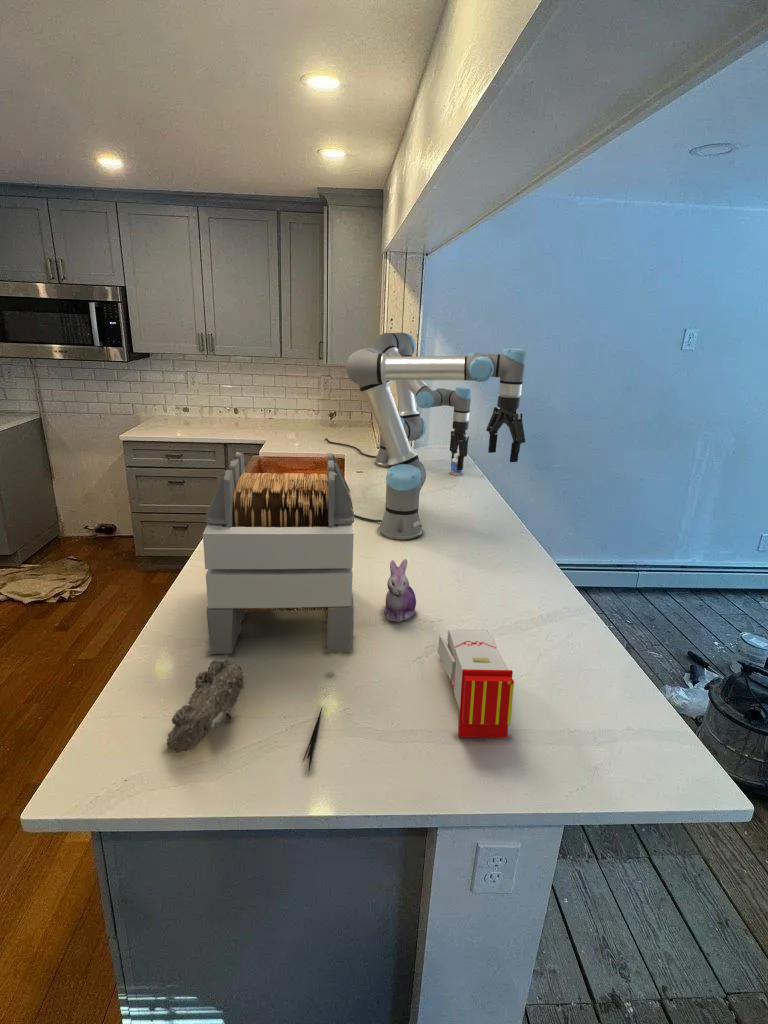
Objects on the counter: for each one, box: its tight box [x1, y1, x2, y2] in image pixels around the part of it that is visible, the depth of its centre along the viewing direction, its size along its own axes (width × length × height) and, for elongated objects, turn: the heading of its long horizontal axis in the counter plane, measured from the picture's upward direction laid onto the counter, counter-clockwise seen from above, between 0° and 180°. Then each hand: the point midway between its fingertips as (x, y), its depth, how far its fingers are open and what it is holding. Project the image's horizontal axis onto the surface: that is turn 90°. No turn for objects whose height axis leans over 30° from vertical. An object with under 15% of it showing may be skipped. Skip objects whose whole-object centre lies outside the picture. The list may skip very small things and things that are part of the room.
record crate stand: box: [202, 451, 355, 655], centre depth 137 cm, size 34×33×41 cm
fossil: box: [166, 658, 245, 754], centre depth 106 cm, size 22×10×15 cm
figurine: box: [384, 558, 417, 623], centre depth 145 cm, size 9×10×15 cm
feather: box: [301, 673, 332, 771], centre depth 108 cm, size 2×28×2 cm
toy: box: [437, 628, 515, 738], centre depth 117 cm, size 12×13×30 cm
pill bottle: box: [450, 452, 463, 476], centre depth 275 cm, size 6×5×10 cm
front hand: (502, 457), depth 199 cm, fingers open, 13 cm apart
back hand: (456, 468), depth 276 cm, fingers closed on pill bottle, 5 cm apart
